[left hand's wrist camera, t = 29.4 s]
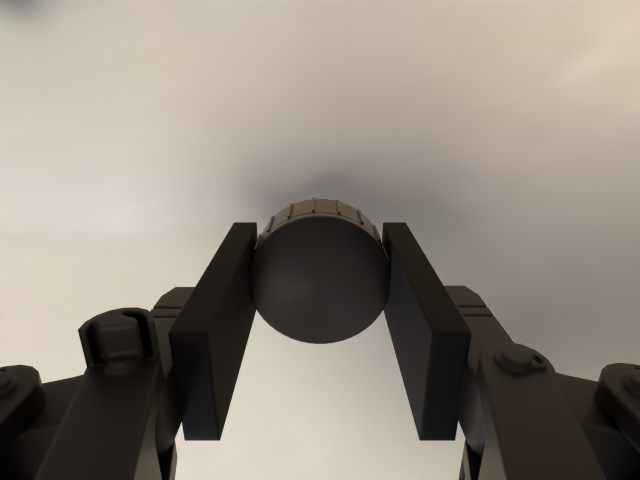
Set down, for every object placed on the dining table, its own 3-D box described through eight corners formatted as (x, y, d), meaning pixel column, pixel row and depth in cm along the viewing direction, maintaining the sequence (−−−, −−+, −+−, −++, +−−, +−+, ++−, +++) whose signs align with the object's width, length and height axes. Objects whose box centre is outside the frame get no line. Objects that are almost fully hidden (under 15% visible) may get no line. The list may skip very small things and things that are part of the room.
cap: (408, 273, 14) (420, 299, 13) (304, 335, 15) (302, 367, 14) (337, 170, 13) (340, 184, 11) (229, 244, 14) (216, 268, 12)
